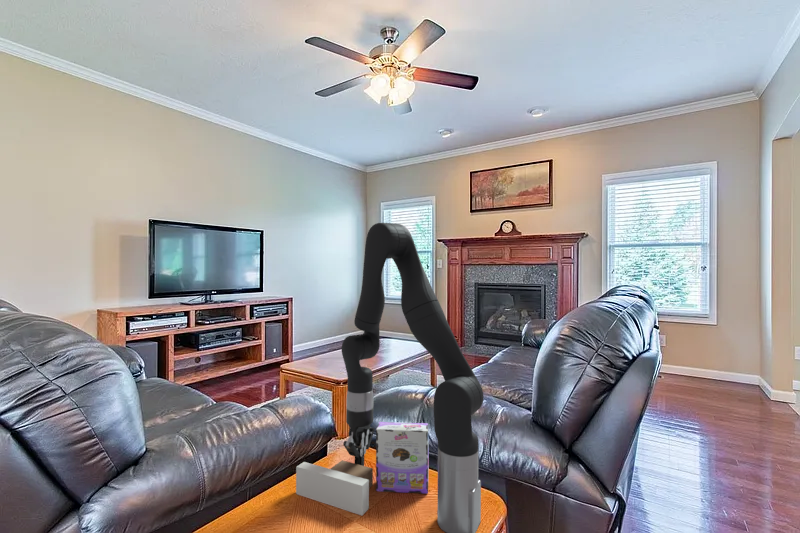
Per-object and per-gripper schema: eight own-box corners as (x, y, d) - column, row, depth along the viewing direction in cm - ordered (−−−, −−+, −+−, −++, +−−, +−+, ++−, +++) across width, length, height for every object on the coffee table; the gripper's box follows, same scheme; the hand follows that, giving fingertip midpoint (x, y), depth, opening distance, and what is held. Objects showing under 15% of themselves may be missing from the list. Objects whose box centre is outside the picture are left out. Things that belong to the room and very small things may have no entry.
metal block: (372, 487, 107) (372, 468, 107) (356, 502, 100) (356, 482, 100) (342, 478, 112) (342, 460, 112) (324, 492, 105) (324, 473, 105)
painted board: (368, 508, 97) (368, 479, 97) (362, 515, 94) (362, 485, 94) (303, 488, 105) (304, 461, 106) (296, 493, 103) (296, 466, 103)
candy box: (428, 482, 109) (429, 422, 109) (428, 495, 103) (428, 431, 103) (378, 479, 110) (379, 420, 110) (375, 491, 104) (375, 428, 104)
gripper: (358, 415, 104) (357, 482, 104) (383, 401, 116) (382, 460, 116) (334, 411, 107) (334, 475, 107) (361, 397, 119) (360, 455, 119)
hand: (359, 467), depth 111 cm, fingers closed
